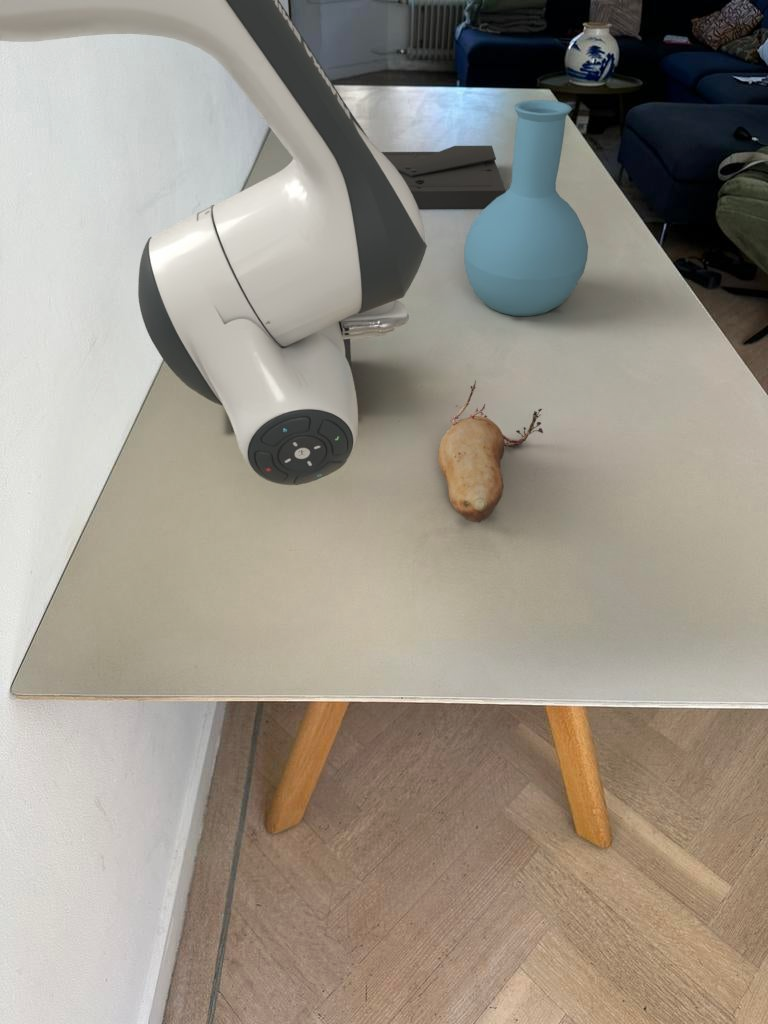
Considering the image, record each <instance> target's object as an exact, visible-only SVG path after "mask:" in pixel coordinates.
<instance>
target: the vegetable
mask: <svg viewBox="0 0 768 1024" xmlns="http://www.w3.org/2000/svg"><path fill="white" fill-rule="evenodd" d="M476 383H477V380H475V381H474V384H473V385H470V389H471V390H470V393H469V395H468V397H467V400H466V402H465V404H464V406H463V407H461V406H459V405H455V408H459V412H458V413H456V414H455V415H453V416H452V417H451V418H450V422H451V423H452V425H451V427H449V428H448V430H447V431H446V432H445V434H444V435H443V437H442V439H441V440H440V443H439V447H438V451H437V452H438V453H437V461H438V465H439V466H438V467H439V469H440V471H441V473H442V475H443V476H444V479H445V480H446V483H447V489H448V498H449V501H450V504H451V505H452V507H453V509H454V510H455V511H457V513H458V514H459V515H461V516H462V517H463V518H465V519H467V520H469V521H471V522H475V523H476V522H477V523H481V522H482V521H485V520H486V519H488V518H489V517H490V516H491V514H492V513H493V511H494V509H495V508H496V506H497V505H498V504H499V502H500V501H501V499H502V497H503V493H504V492H503V491H504V488H505V487H504V479H503V474H502V469H501V460H502V459H503V456H504V454H505V448H506V447H510V448H511V447H512V448H514V447H519V446H521V445H522V444H523V443H525V442H526V441H527V439H528V437H529V435H531V434H532V433H534V432H538V433H541V434H544V430H543V428H542V427H539V426H540V425H542V422H541V421H537V420H538V418H539V417H540V416H542V413H541V414H539V413H540V412H542V410H543V408H539V409H537V411H536V410H534V411H533V414H532V421H531V423H530V424H529V427H528V429H527V428H526V427H525V426H523V433H521V431H520V430H519V429H518V430H515V432H516V433H517V434H519V435H520V436H521V438H519V439H513V438H509V437H507V436H506V435H504V434H503V432H502V430H501V428H500V427H499V426H498V424H496V423H495V422H494V421H492V420H491V419H489V418H488V415H486V414H485V413H483V411H484V409H485V406H486V403H484V404H483V406H482V408H481V409H478V408H479V407H477V408H476V410H475V411H474V412H473V413H471V414H470V416H469V417H466V418H463V419H460V420H458V419H459V417H460V416H461V415H462V413H464V411H466V408H467V407H468V406H469V404H470V401H471V398H472V396H473V394H474V392H475V391H474V390H475V389H476V388H477V387H476ZM479 414H480V415H479ZM457 420H458V421H457ZM536 421H537V422H536ZM535 423H536V426H535ZM537 427H539V428H538V429H536V428H537ZM526 430H527V431H526Z"/></svg>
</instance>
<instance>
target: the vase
mask: <svg viewBox="0 0 768 1024" xmlns="http://www.w3.org/2000/svg"><path fill="white" fill-rule="evenodd" d="M513 109H514V111H515V113H516V115H517V116H516V122H515V123H516V124H515V130H514V131H515V132H514V143H513V156H512V169H511V172H512V173H511V181H510V184H509V188H508V189H507V190H506V192H505V193H504V194H502V195H500V196H499V197H497V198H496V199H495V200H494V201H493V202H491V203H490V204H489V205H488V206H487V207H486V208H483V209H482V211H480V212H479V214H478V215H477V216H476V218H475V219H474V221H472V223H471V225H470V227H469V230H468V232H467V234H466V236H465V243H464V248H463V252H464V253H463V254H464V258H463V259H464V269H465V273H466V276H467V281H468V282H469V285H470V287H471V288H472V290H473V292H474V294H475V295H476V297H477V298H478V299H479V300H480V301H482V302H483V303H484V304H485V305H486V306H488V307H489V308H490V309H491V310H493V311H496V312H499V313H501V314H504V315H508V316H512V317H532V316H538V315H543V314H545V313H548V312H549V311H551V310H553V309H555V308H557V307H559V306H561V305H562V304H563V303H564V302H565V301H566V300H567V298H569V296H570V295H571V294H572V293H573V290H574V289H576V286H577V285H578V283H579V281H580V280H581V278H582V276H583V275H584V273H585V269H586V266H587V261H588V254H589V245H588V238H587V234H586V231H585V228H584V226H583V224H582V221H581V219H580V218H579V216H578V214H577V212H576V211H575V210H574V209H573V207H572V206H571V205H570V203H568V202H567V201H566V200H565V199H564V198H562V197H561V196H560V194H559V193H558V192H557V184H556V183H557V178H558V175H559V168H560V162H561V157H562V150H563V143H564V137H565V129H566V121H567V120H566V119H567V116H568V115H569V114H570V113H571V111H572V110H573V108H572V107H571V106H570V104H567V103H565V102H562V101H556V100H549V99H531V100H523V101H519V102H517V103H515V104H514V105H513Z"/></svg>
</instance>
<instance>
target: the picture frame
mask: <svg viewBox="0 0 768 1024" xmlns="http://www.w3.org/2000/svg"><path fill="white" fill-rule="evenodd" d="M381 152H382V153H383V154H384V156H385V157H386V158H387V159H388V160H389V161H390V162H391V163H392V164H393V166H394V167H395V168H396V169H397V171H398V172H399V173H400V175H401V176H402V178H403V179H404V181H405V182H406V184H407V186H408V187H409V189H410V191H411V193H412V195H413V197H414V199H415V201H416V204H417V206H418V209H419V210H420V209H422V210H423V209H485V208H486V207H487V206H488V205H489V204H490V203H491V202H493V201H494V200H495V199H496V198H497V197H499V196H500V195H502V194H504V193H505V192H506V191H507V190H506V188H505V185H504V181H503V179H502V177H501V174H500V171H499V168H498V166H497V163H496V160H497V157H496V154H495V151H494V148H493V145H452V146H450V147H448V148H445V149H443V150H440V151H381Z"/></svg>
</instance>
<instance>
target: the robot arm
mask: <svg viewBox="0 0 768 1024" xmlns="http://www.w3.org/2000/svg"><path fill="white" fill-rule="evenodd" d="M100 35H102V36H103V35H141V36H155V37H162V38H168V39H174V40H175V41H180V42H184V43H187V44H189V45H191V46H193V47H196V48H198V49H200V50H202V51H203V52H204V53H206V54H208V55H209V56H211V57H212V58H213V59H214V60H215V61H217V62H218V64H220V65H221V66H222V67H223V68H224V70H225V71H226V72H227V73H228V74H229V76H230V77H231V78H232V80H233V81H234V83H235V84H236V85H237V86H238V88H239V89H240V90H241V91H242V93H243V95H244V96H245V97H246V98H247V100H248V101H249V102H250V103H251V104H252V106H253V107H254V109H255V110H256V111H257V113H258V114H259V115H260V116H261V118H262V119H263V120H264V122H265V123H266V125H267V126H268V127H269V128H270V130H271V131H272V132H273V133H274V135H275V136H276V137H277V139H278V140H279V142H280V143H281V144H282V145H283V147H284V148H285V149H286V151H287V152H288V153H289V155H290V156H291V157H292V160H291V162H290V163H288V165H286V166H285V167H284V168H283V169H281V170H280V171H278V172H276V173H274V174H272V175H270V176H268V177H266V178H265V179H263V180H261V181H259V182H257V183H255V184H253V185H251V186H249V187H247V188H245V189H243V190H241V191H240V192H237V193H235V194H234V195H232V196H229V197H228V198H226V199H224V200H222V201H220V202H218V203H216V204H211V205H208V206H207V207H205V208H202V209H201V210H199V211H197V212H196V213H193V214H192V215H190V216H187V217H185V218H184V219H182V220H180V221H178V222H177V223H175V224H173V225H171V226H169V227H167V228H166V229H164V230H162V231H160V232H159V233H157V234H155V235H154V236H150V237H148V239H147V241H146V243H145V245H144V246H143V247H144V248H143V250H142V253H141V257H140V262H139V269H138V281H137V282H138V284H137V285H138V289H137V291H138V292H137V295H138V297H137V298H138V304H139V310H140V314H141V318H142V321H143V324H144V327H145V329H146V331H147V334H148V336H149V338H150V340H151V343H152V344H153V345H154V347H155V349H156V351H157V352H158V353H159V355H160V356H161V358H162V359H163V361H164V362H165V364H166V365H167V366H168V368H169V369H170V370H171V371H172V372H173V373H174V374H175V376H176V378H178V379H179V380H180V381H181V382H182V383H183V384H184V385H185V386H186V387H188V388H189V389H190V390H192V391H194V392H196V393H197V394H198V395H200V396H202V397H203V398H205V399H207V400H209V401H210V402H212V403H214V404H217V405H219V406H223V408H224V411H225V412H226V414H227V417H228V420H229V419H230V420H229V423H230V422H231V424H232V427H233V430H234V431H233V432H234V435H235V439H236V442H237V445H238V448H239V451H240V453H241V456H242V458H243V460H244V462H245V463H246V464H247V466H248V467H249V469H250V470H251V471H252V472H253V473H254V474H255V475H257V477H259V478H261V479H263V480H265V481H267V482H269V483H273V484H278V485H284V486H299V485H304V484H309V483H312V482H314V481H317V480H320V479H322V478H325V477H327V476H329V475H331V474H333V473H335V472H336V471H338V470H339V469H341V468H343V466H344V465H345V464H346V463H347V462H348V460H349V459H350V458H351V456H352V454H353V452H354V450H355V447H356V444H357V441H358V434H359V408H358V398H357V391H356V385H355V381H354V377H353V374H352V373H353V372H352V368H351V369H350V366H349V363H348V361H347V359H346V357H345V346H344V341H343V339H350V340H351V339H352V340H353V339H365V338H374V337H380V336H385V335H387V334H389V333H391V332H394V331H395V328H399V327H400V326H404V325H406V324H408V320H409V318H410V315H409V313H408V310H407V307H406V305H405V304H404V302H402V301H400V299H403V298H404V297H405V296H406V294H407V292H408V290H409V289H410V287H411V285H412V284H413V282H414V279H415V278H416V276H417V274H418V272H419V270H420V267H421V265H422V262H423V259H424V257H425V254H426V250H427V247H428V245H427V243H426V233H425V227H424V226H425V225H424V222H423V218H422V215H421V212H420V209H418V206H417V204H416V201H415V199H414V197H413V195H412V193H411V191H410V189H409V187H408V186H407V184H406V182H405V181H404V179H403V178H402V176H401V175H400V173H399V172H398V171H397V169H396V168H395V167H394V166H393V164H392V163H391V162H390V161H389V160H388V159H387V158H386V157H385V156H384V154H383V153H382V152H383V151H381V149H379V148H378V147H377V146H376V144H374V143H373V141H371V140H370V138H369V137H368V135H367V133H366V132H365V131H364V129H363V128H362V126H361V125H360V123H359V122H358V120H357V119H356V117H355V116H354V115H353V113H352V112H351V109H349V107H348V105H347V104H346V102H345V101H344V99H343V97H342V96H341V95H340V93H339V92H338V90H337V89H336V87H335V85H334V84H333V82H332V81H331V79H330V78H329V76H328V74H327V73H326V72H325V70H324V69H323V67H322V65H321V63H320V62H319V61H318V59H317V58H316V56H315V54H314V53H313V51H312V50H311V48H310V46H309V45H308V43H307V42H306V40H305V39H304V37H303V36H302V34H301V33H300V31H299V29H298V28H297V26H296V25H295V23H294V21H293V20H292V19H291V17H290V15H289V14H288V12H287V11H286V9H285V8H284V5H283V4H282V3H281V1H280V0H0V41H1V42H11V43H12V42H14V43H15V42H17V43H31V42H33V43H34V42H44V41H51V40H59V39H60V40H61V39H70V38H78V37H90V36H100Z"/></svg>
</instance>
